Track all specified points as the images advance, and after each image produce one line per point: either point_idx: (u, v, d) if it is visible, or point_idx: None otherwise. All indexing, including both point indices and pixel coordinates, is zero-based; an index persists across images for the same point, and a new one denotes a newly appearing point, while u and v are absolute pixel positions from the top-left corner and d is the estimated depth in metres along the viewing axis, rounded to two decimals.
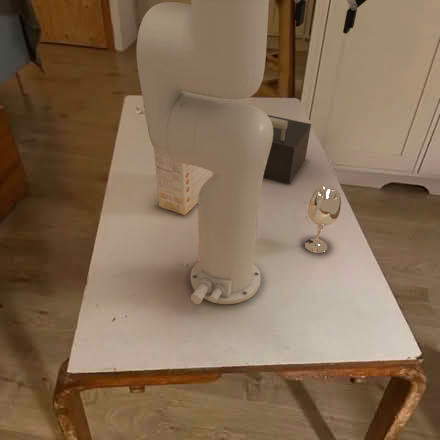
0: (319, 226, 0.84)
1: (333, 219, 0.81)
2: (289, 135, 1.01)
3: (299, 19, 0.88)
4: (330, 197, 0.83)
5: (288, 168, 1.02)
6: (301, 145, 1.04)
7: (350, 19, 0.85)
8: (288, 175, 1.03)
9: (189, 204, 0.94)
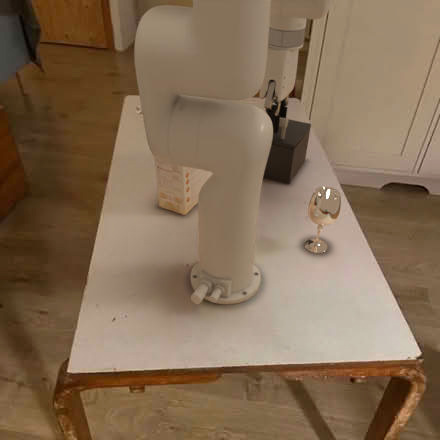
0: (319, 226, 0.84)
1: (333, 219, 0.81)
2: (289, 134, 1.01)
3: None
4: (330, 197, 0.83)
5: (288, 168, 1.02)
6: (301, 145, 1.04)
7: None
8: (288, 175, 1.03)
9: (189, 204, 0.94)
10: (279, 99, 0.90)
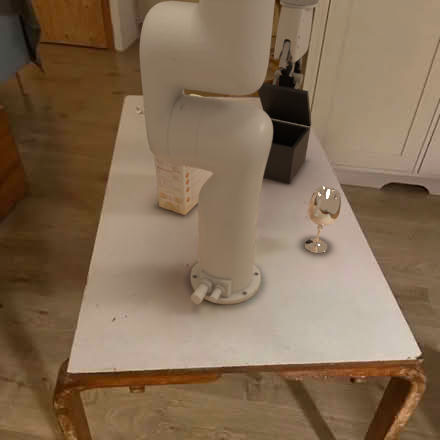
0: (319, 226, 0.84)
1: (333, 219, 0.81)
2: None
3: None
4: (330, 197, 0.83)
5: (288, 168, 1.02)
6: (301, 145, 1.04)
7: None
8: (288, 175, 1.03)
9: (189, 204, 0.94)
10: (294, 59, 0.91)
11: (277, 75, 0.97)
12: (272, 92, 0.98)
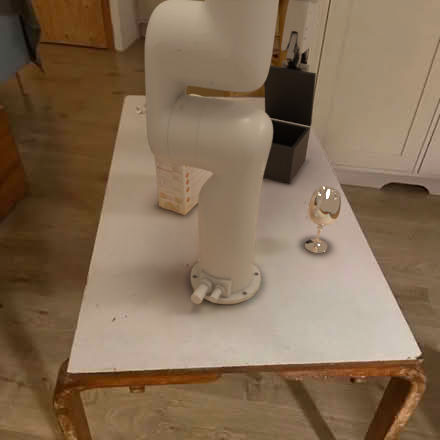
0: (319, 226, 0.84)
1: (333, 219, 0.81)
2: None
3: None
4: (330, 197, 0.83)
5: (288, 168, 1.02)
6: (301, 145, 1.04)
7: None
8: (288, 175, 1.03)
9: (189, 204, 0.94)
10: (300, 51, 0.94)
11: (284, 64, 1.00)
12: (279, 76, 0.99)
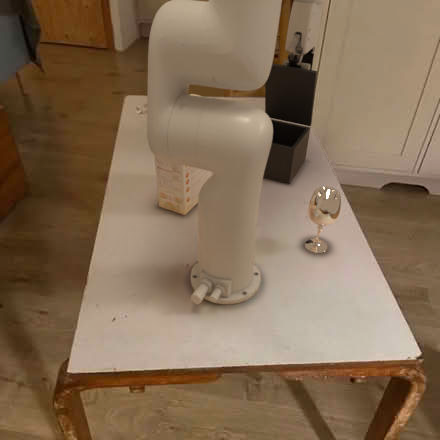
0: (319, 226, 0.84)
1: (333, 219, 0.81)
2: None
3: None
4: (330, 197, 0.83)
5: (288, 168, 1.02)
6: (301, 145, 1.04)
7: None
8: (288, 175, 1.03)
9: (189, 204, 0.94)
10: (304, 51, 0.96)
11: (286, 63, 1.00)
12: (280, 74, 0.99)
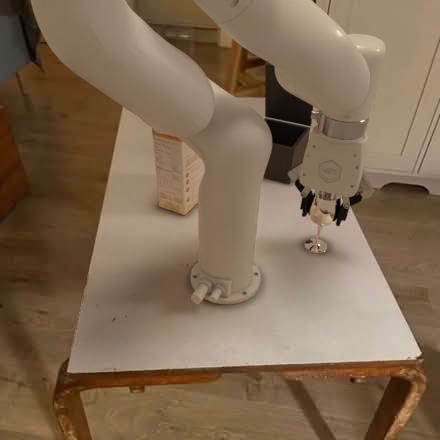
0: (319, 226, 0.84)
1: (333, 219, 0.81)
2: None
3: (305, 211, 0.82)
4: (330, 197, 0.83)
5: (288, 168, 1.02)
6: (301, 145, 1.04)
7: (343, 214, 0.80)
8: None
9: (189, 204, 0.94)
10: None
11: None
12: None
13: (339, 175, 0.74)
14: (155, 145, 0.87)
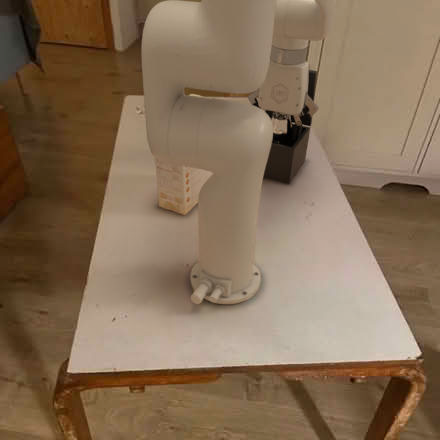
0: None
1: (286, 137, 1.02)
2: None
3: None
4: None
5: (288, 168, 1.02)
6: (301, 145, 1.04)
7: (297, 131, 1.01)
8: (288, 175, 1.03)
9: (189, 204, 0.94)
10: None
11: None
12: None
13: (287, 96, 0.95)
14: None
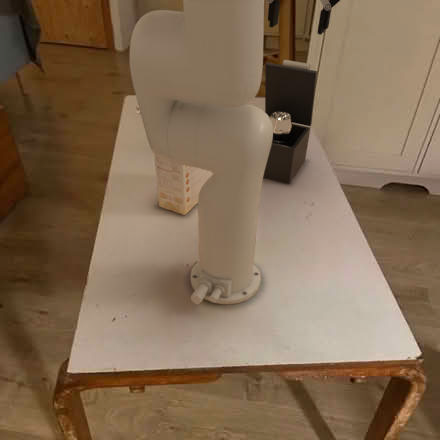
0: None
1: (286, 137, 1.02)
2: None
3: (273, 20, 0.86)
4: None
5: (288, 168, 1.02)
6: (301, 145, 1.04)
7: (325, 20, 0.82)
8: (288, 175, 1.03)
9: (189, 204, 0.94)
10: None
11: (286, 63, 1.00)
12: (280, 74, 0.99)
13: None
14: None
